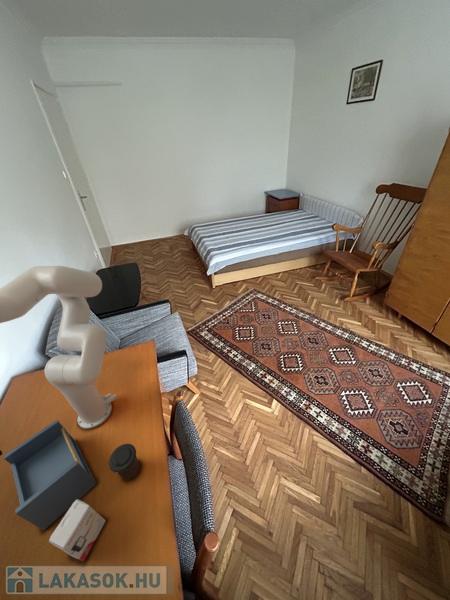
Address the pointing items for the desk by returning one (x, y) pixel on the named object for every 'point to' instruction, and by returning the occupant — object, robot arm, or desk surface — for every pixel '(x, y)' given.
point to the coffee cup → (124, 461)
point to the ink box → (77, 530)
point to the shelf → (49, 475)
